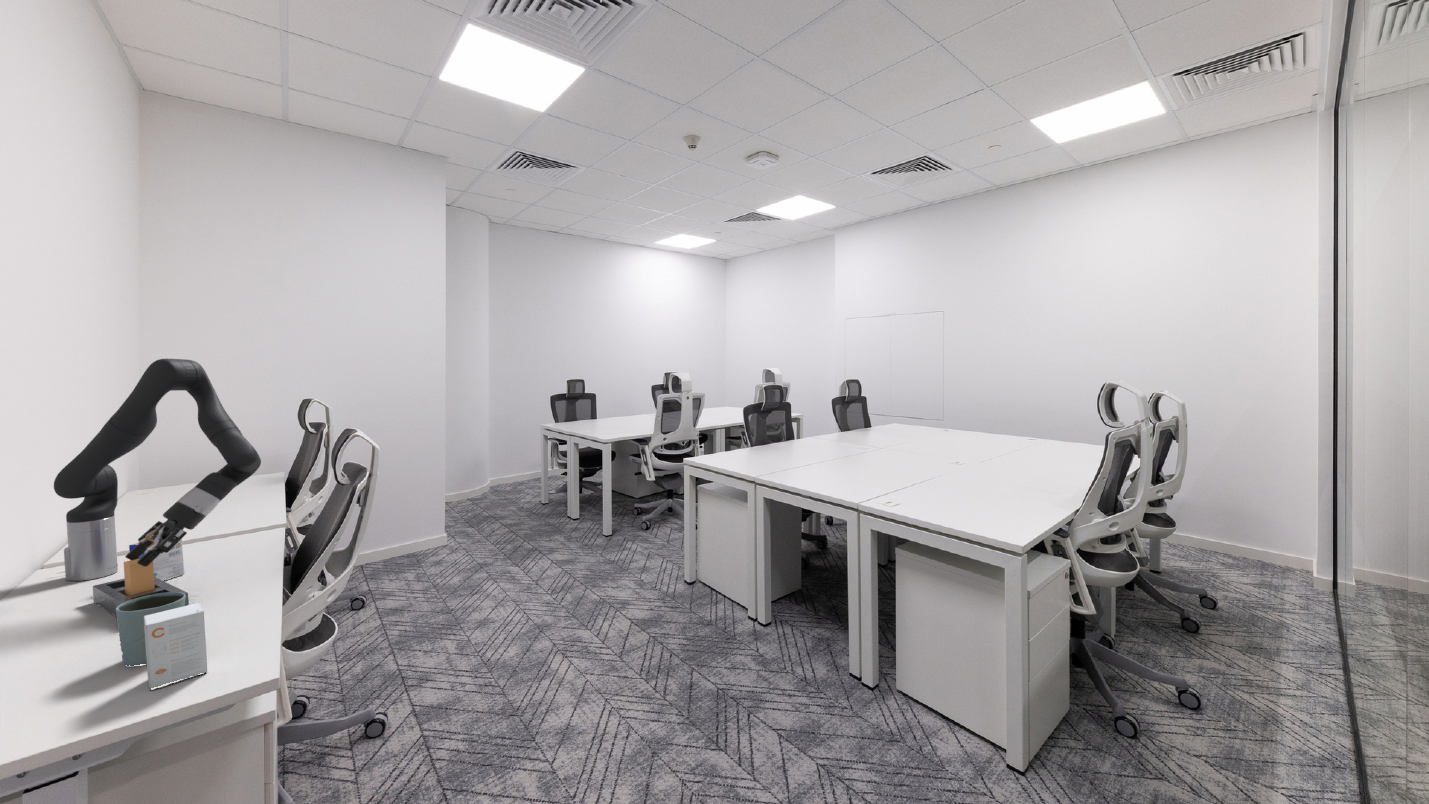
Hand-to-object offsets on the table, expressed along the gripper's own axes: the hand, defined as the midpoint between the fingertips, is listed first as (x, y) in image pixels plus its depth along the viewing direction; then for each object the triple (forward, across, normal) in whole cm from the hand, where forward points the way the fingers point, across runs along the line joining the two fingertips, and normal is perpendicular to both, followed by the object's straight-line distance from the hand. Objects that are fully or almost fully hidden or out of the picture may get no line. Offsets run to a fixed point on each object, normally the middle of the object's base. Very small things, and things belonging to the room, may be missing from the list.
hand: (135, 562), depth 135 cm
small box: (+14, +52, +3) cm, 54 cm away
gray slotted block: (+8, 0, +9) cm, 12 cm away
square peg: (+7, 0, +8) cm, 11 cm away
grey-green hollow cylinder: (+13, +37, +4) cm, 39 cm away
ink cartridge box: (+2, -20, +15) cm, 25 cm away
